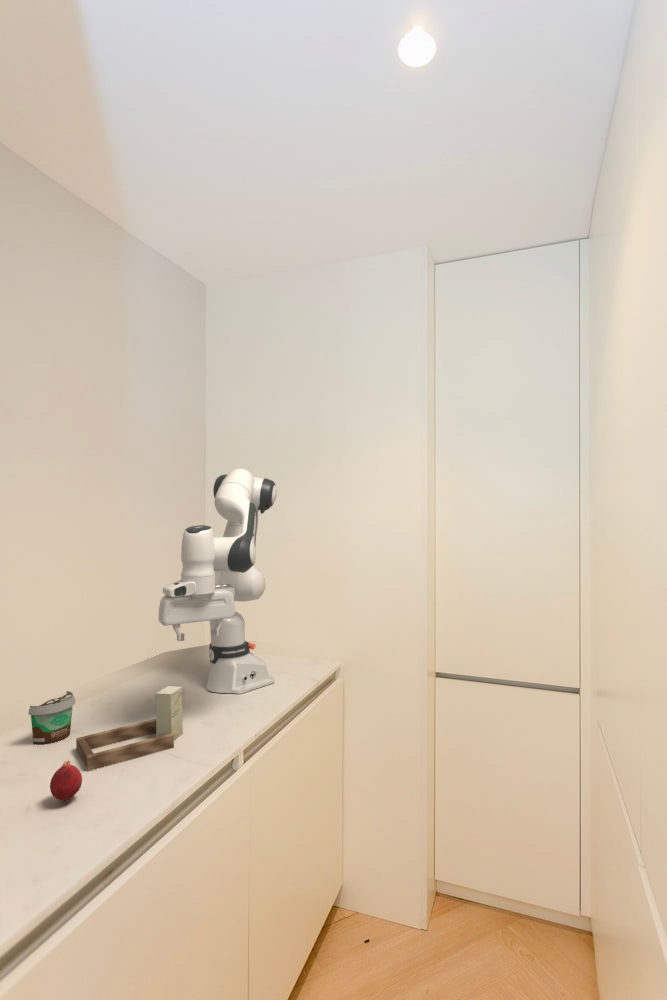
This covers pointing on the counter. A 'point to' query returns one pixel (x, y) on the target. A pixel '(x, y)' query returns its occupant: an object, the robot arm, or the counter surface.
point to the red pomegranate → (66, 782)
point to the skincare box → (169, 711)
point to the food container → (52, 719)
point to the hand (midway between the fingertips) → (198, 638)
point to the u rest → (122, 752)
